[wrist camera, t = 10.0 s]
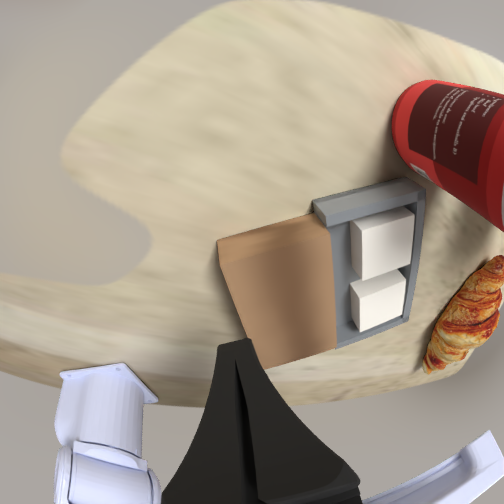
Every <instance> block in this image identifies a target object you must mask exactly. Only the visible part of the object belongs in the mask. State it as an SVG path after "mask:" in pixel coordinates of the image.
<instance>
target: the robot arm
mask: <svg viewBox="0 0 504 504" xmlns="http://www.w3.org/2000/svg"><path fill="white" fill-rule="evenodd" d="M60 376H61V377H62V378H63V379H64V381H63V385H62V389H61V393H60V398H59V402H58V406H57V411H56V416H55V431H56V435H57V438H58V440H59V442H60V443H61V445H62V446H63V447H62V448H60V449H59V451H58V456H57V461H56V467H55V476H54V504H469V503H470V502H472V501H473V500H474V499H476V498H477V497H478V496H479V495H481V494H482V493H483V492H484V491H486V490H487V489H488V488H489V487H491V486H492V485H493V484H494V483H496V482H497V481H498V480H499V479H500V478H501V477H503V476H504V457H503V456H502V453H501V451H500V449H499V447H498V445H497V443H496V441H495V439H494V437H493V435H492V434H491V431H490V430H487V431H486V432H485V433H483V434H482V435H480V436H479V437H478V438H476V439H475V440H474V441H472V442H471V443H469V444H468V445H467V446H465V447H464V448H462V449H461V450H460V451H459V452H458V453H456V454H455V455H453V456H451V457H450V458H448V459H447V460H445V461H443V462H442V463H440V464H438V465H436V466H435V467H433V468H431V469H429V470H428V471H426V472H424V473H422V474H420V475H418V476H417V477H414V478H412V479H410V480H408V481H406V482H404V483H402V484H400V485H398V486H396V487H394V488H392V489H389V490H387V491H385V492H382V493H380V494H377V495H375V496H373V497H370V498H367V499H365V500H361V497H360V491H359V488H358V485H359V484H360V479H359V477H358V476H357V474H356V473H355V472H354V471H353V470H352V469H351V468H350V466H349V465H348V464H347V463H346V462H345V461H344V460H343V459H342V458H341V457H339V456H338V455H337V454H336V453H334V452H333V451H332V450H331V449H330V448H329V447H327V446H326V445H325V444H324V443H323V442H322V441H321V440H320V439H318V438H317V436H316V435H314V434H313V433H312V432H311V431H310V429H308V427H306V425H305V424H304V423H303V422H302V421H301V420H300V419H299V418H298V417H297V416H296V414H295V413H294V412H293V411H292V410H291V408H290V407H289V406H288V405H287V404H286V402H285V401H284V400H283V398H282V397H281V396H280V394H279V393H278V391H277V390H276V389H275V387H274V386H273V384H272V383H271V381H270V379H269V378H268V376H267V374H266V373H265V371H264V369H263V368H262V366H261V364H260V362H259V359H258V356H257V354H256V351H255V348H254V345H253V342H252V340H251V339H250V338H245V339H242V340H238V341H234V342H230V343H225V344H221V345H219V346H218V347H217V357H216V364H215V369H214V375H213V379H212V384H211V388H210V392H209V396H208V399H207V403H206V406H205V410H204V413H203V416H202V419H201V421H200V424H199V427H198V429H197V432H196V434H195V436H194V439H193V441H192V443H191V446H190V448H189V450H188V452H187V454H186V455H185V457H184V459H183V461H182V463H181V465H180V466H179V468H178V470H177V472H176V473H175V475H174V477H173V478H172V479H171V481H170V482H169V484H168V485H167V487H166V488H165V490H164V491H163V492H162V495H161V486H160V483H159V480H158V478H157V476H156V475H155V473H154V472H153V470H151V469H150V468H147V460H143V459H142V420H143V404H149V403H156V402H158V398H157V397H156V396H155V395H154V394H153V393H152V392H151V391H150V390H149V389H148V388H147V387H146V386H145V385H144V384H143V383H142V381H141V380H140V379H139V378H138V377H137V376H136V375H135V374H134V373H133V372H132V371H131V370H130V369H129V367H128V366H127V365H126V364H124V363H118V364H112V365H105V366H99V367H92V368H85V369H78V370H70V371H62V372H60Z"/></svg>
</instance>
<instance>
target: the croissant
mask: <svg viewBox="0 0 504 504" xmlns="http://www.w3.org/2000/svg"><path fill="white" fill-rule="evenodd" d="M503 283H504V256H502V255H499V256H496V257H493V259H492V260H490V261H489V262H487V263H486V264H485V266H483V268H481V269H480V270H478V271H476V272H474V274H473V275H472V276H470V277H469V279H467V280H466V282H465V284H464V286H463V287H462V288H461V289H460V290H459V292H458V293H457V294H456V295H455V296H454V297H453V298H452V299H451V301H450V303H449V304H448V305H447V307H446V309H445V311H444V312H443V314H442V315H441V316H440V318H439V319H438V321H437V323H436V325H435V328H434V330H433V333H432V338H431V340H430V342H429V344H428V347H427V354H426V355H425V356H424V360H423V364H422V366H423V371H424V372H425V373H426V374H430V373H431V371H438V370H443V369H444V368H445V366H446V365H447V364H451V363H453V362H457V361H460V360H462V359H464V358H465V356H466V354H467V353H468V352H469V351H468V350H469V349H470V348H476V347H479V346H481V345H482V344H483V343H484V342H485V341H486V340H488V339H489V337H490V336H491V335H492V333H493V331H494V330H495V328H496V327H497V324H498V321H499V320H498V319H499V316H500V314H499V311H498V308H499V306H500V303H501V300H502V293H501V289H500V287H501V286H502V285H503Z"/></svg>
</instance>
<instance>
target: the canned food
mask: <svg viewBox="0 0 504 504" xmlns="http://www.w3.org/2000/svg"><path fill="white" fill-rule="evenodd" d="M392 136H393V141H394V144H395V147H396V149H397V151H398V153H399V155H400V156H401V157H402V159H403V160H404V161H405V163H406V164H407V165H408V166H409V167H410V168H411V169H412V170H413V171H415V172H416V173H418V174H420V175H421V176H423V177H425V178H426V179H428V180H429V181H431V182H433V183H434V184H436V185H437V186H439V187H441V188H442V189H444V190H445V191H447V192H448V193H450V194H451V195H453V196H454V197H456V198H457V199H459V200H460V201H462V202H463V203H465V204H466V205H467V206H469V207H470V208H472V209H473V210H474V211H476V212H477V213H479V214H480V215H481V216H483V217H484V218H485V219H487V220H488V221H489V222H490V223H492V224H493V225H494V226H496V227H497V228H499V229H500V230H501V231H503V232H504V95H503V94H499V93H496V92H492V91H488V90H484V89H480V88H475V87H471V86H466V85H461V84H455V83H450V82H444V81H437V80H425V81H422V82H419V83H416V84H413V85H412V86H410V87H409V88H407V89H406V90H405V91H404V92H403V93H402V94H401V96H400V97H399V99H398V101H397V103H396V105H395V108H394V111H393V116H392Z"/></svg>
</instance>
